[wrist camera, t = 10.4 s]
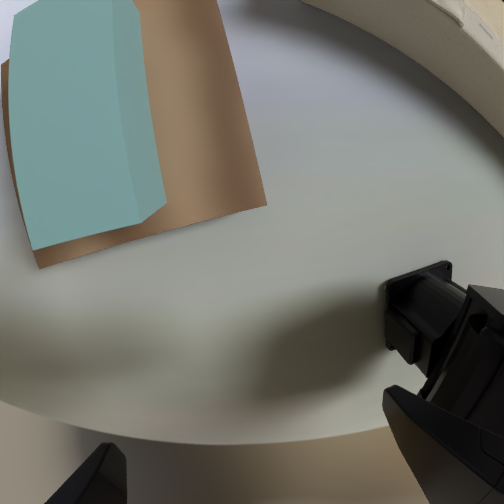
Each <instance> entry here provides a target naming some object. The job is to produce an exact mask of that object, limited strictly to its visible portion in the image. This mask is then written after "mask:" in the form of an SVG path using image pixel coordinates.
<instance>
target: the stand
mask: <svg viewBox="0 0 504 504" xmlns="http://www.w3.org/2000/svg"><path fill="white" fill-rule="evenodd" d="M133 2H134V4H135V6H136V7H137V9H138V11H139V12H140V23H141V35H142V46H143V56H144V65H145V74H146V82H147V89H148V97H149V104H150V111H151V117H152V124H153V130H154V136H155V142H156V148H157V153H158V159H159V164H160V170H161V175H162V180H163V185H164V190H165V195H166V200H167V203H166V204H165V205H164V206H162V207H161V208H160V209H158V210H157V211H156V212H155V213H153V214H152V215H151V216H149V217H148V218H147V219H146V220H144V221H143V222H142V223H139V224H135V225H131V226H126V227H122V228H118V229H114V230H109V231H105V232H101V233H97V234H93V235H89V236H85V237H81V238H77V239H74V240H70V241H66V242H62V243H58V244H55V245H51V246H47V247H44V248H40V249H37V250H33V253H34V255H35V258H36V261H37V264H38V266H39V269H42V268H45V267H48V266H51V265H54V264H57V263H60V262H63V261H66V260H70V259H73V258H76V257H79V256H82V255H85V254H89V253H92V252H95V251H98V250H102V249H105V248H108V247H112V246H115V245H118V244H122V243H125V242H129V241H132V240H136V239H139V238H143V237H146V236H150V235H153V234H157V233H160V232H164V231H168V230H171V229H175V228H179V227H182V226H186V225H190V224H194V223H197V222H201V221H205V220H209V219H213V218H217V217H221V216H225V215H229V214H233V213H237V212H241V211H245V210H249V209H253V208H257V207H261V206H266V205H267V202H266V198H265V193H264V189H263V184H262V180H261V176H260V171H259V167H258V163H257V158H256V154H255V150H254V145H253V141H252V137H251V133H250V129H249V124H248V120H247V116H246V112H245V108H244V104H243V100H242V96H241V92H240V88H239V84H238V80H237V76H236V72H235V68H234V64H233V60H232V56H231V53H230V49H229V45H228V41H227V37H226V34H225V30H224V26H223V22H222V19H221V15H220V11H219V8H218V4H217V1H216V0H133ZM8 81H9V59H8V60H7V61H6V62H4V63H3V64H2V65H1V89H2V107H3V119H4V128H5V136H6V144H7V150H8V156H9V162H10V167H11V173H12V177H13V182H14V187H15V191H16V195H17V199H18V203H19V207H20V211H21V214H22V218H23V221H24V225H25V228H26V224H25V220H24V216H23V212H22V207H21V203H20V198H19V193H18V188H17V182H16V176H15V170H14V163H13V155H12V147H11V136H10V124H9V100H8ZM26 231H27V228H26ZM27 235H28V232H27ZM28 238H29V236H28ZM29 241H30V239H29ZM30 244H31V243H30ZM31 247H32V246H31Z"/></svg>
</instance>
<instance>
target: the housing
mask: <svg viewBox="0 0 504 504" xmlns="http://www.w3.org/2000/svg"><path fill="white" fill-rule="evenodd" d="M8 100H9V124H10V136H11V147H12V155H13V163H14V170H15V176H16V182H17V188H18V193H19V198H20V203H21V207H22V212H23V216H24V220H25V224H26V228H27V232H28V236H29V239H30V243H31V246H32V250H37V249H40V248H44V247H47V246H51V245H55V244H58V243H62V242H66V241H70V240H74V239H77V238H81V237H85V236H89V235H93V234H97V233H101V232H105V231H109V230H114V229H118V228H122V227H126V226H131V225H135V224H139V223H142V222H143V221H144V220H146V219H147V218H148V217H149V216H151V215H152V214H153V213H155V212H156V211H157V210H158V209H160V208H161V207H162V206H164V205H165V204H166V203H167V200H166V195H165V190H164V185H163V180H162V175H161V170H160V164H159V159H158V153H157V148H156V142H155V136H154V130H153V124H152V117H151V111H150V104H149V97H148V89H147V82H146V74H145V65H144V56H143V46H142V35H141V23H140V12H139V11H138V9H137V7H136V6H135V4H134V2H133V0H39V1H37V2H35V3H34V4H32V5H30V6H28V7H27V8H25V9H24V10H22V11H20V12H19V13H17V14H16V15H14V21H13V28H12V36H11V45H10V58H9V81H8Z"/></svg>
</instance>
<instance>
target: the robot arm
mask: <svg viewBox="0 0 504 504" xmlns="http://www.w3.org/2000/svg"><path fill="white" fill-rule="evenodd" d="M446 267H447V268H446ZM451 279H452V263H451V262H449V261H447V260H446V261H443V262H440V263H437V264H435V265H432V266H429V267H426V268H424V269H421V270H418V271H415V272H412V273H409V274H406V275H404V276H401V277H398V278H395V279H392V280H390V281H389V282H388V283H387V285H386V303H387V308H386V310H385V337H386V347H387V348H388V349H389V350H390V351H392V350H395V349H396V350H397V351H398V352H399V354H400V355H401V356H402V357H403V358H404V360H405V361H406V362H407V363H408V364H410V365H412V364H414V363H415V365H416V366H417V367H418V368H419V369H420V370H421V372H422V373H423V374H424V375H425V376H426V378H428V379H427V381H426V382H425V384H424V386H423V388H421V389H420V390H419V392H418V394H417V395H415V394H413V393H411V392H409V391H407V390H405V389H404V388H402V387H400V386H398V385H393V386H391V387H388V388H386V389H385V390H384V392H383V403H382V407H383V411H384V413H385V416H386V418H387V421H388V423H389V425H390V428H391V430H392V433H393V435H394V438H395V440H396V442H397V445H398V447H399V449H400V451H401V453H402V454H403V456H404V458H405V460H406V462H407V463H408V465H409V467H410V468H411V470H412V472H413V474H414V476H415V478H416V479H417V481H418V483H419V485H420V487H421V488H422V490H423V492H424V494H425V495H426V498H427V499H428V501H429V503H430V504H504V290H503V289H497V288H490V287H484V286H477V285H470V284H469V285H468V288H467V290H466V289H464V288H463V287H461V286H459V285H458V284H456V283H455V282H453V281H451ZM394 284H395V285H394ZM393 285H394V287H393V288H392V286H393ZM391 288H392V289H391ZM126 471H127V470H126V457H125V455H124V454H123V453H122V452H121V451H120V449H119V448H118V447H117V446H116V445H115V444H114V443H112V442H103V443H101V444H100V445H99V446H98V447H97V448H96V449H95V451H94V452H93V453H92V454H91V455H90V456H89V457H88V458H87V459H86V460H85V462H83V463H82V465H81V466H80V467H79V468H78V469H77V470H76V471H75V472H74V473H73V474H72V475H71V476H70V477H69V478H68V479H67V480H66V481H65V482H64V484H63V485H62V486H61V487H60V488H59V489H58V490H57V491H56V492H55V493H54V494H53V495H52V496H51V497H50V498H49V499H48V500H47V502H45V503H44V504H127V473H126Z"/></svg>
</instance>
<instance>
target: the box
mask: <svg viewBox="0 0 504 504" xmlns="http://www.w3.org/2000/svg"><path fill="white" fill-rule="evenodd" d="M301 2H304V3H306V4H309V5H312V6H314V7H317V8H319V9H321V10H324V11H326V12H328V13H331V14H333V15H335V16H337V17H339V18H341V19H344V20H346V21H348V22H350V23H352V24H354V25H356V26H358V27H359V28H361V29H363V30H365V31H367V32H369V33H371V34H372V35H374V36H376V37H378V38H379V39H381V40H383V41H384V42H386V43H388V44H389V45H391V46H393V47H394V48H396V49H397V50H399V51H401V52H402V53H404V54H405V55H407V56H408V57H410V58H411V59H413V60H414V61H416V62H417V63H419V64H420V65H422V66H423V67H424V68H426V69H427V70H428V71H430V72H431V73H433V74H434V75H435V76H436V77H438V78H439V79H440V80H442V81H443V82H444V83H445V84H447V85H448V86H449V87H450V88H452V89H453V90H454V91H455V92H456V93H458V94H459V95H460V96H461V97H462V98H463V99H465V100H466V101H467V102H468V103H469V104H470V105H471V106H472V107H474V108H475V109H476V110H477V111H478V112H479V113H480V114H481V115H482V116H483V117H484V118H485V119H486V120H487V121H488V122H489V123H490V124H491V125H492V126H493V127H494V128H495V129H496V130H497V131H498V132H499V133H500V134H501V135H502V137H503V138H504V0H301Z"/></svg>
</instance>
